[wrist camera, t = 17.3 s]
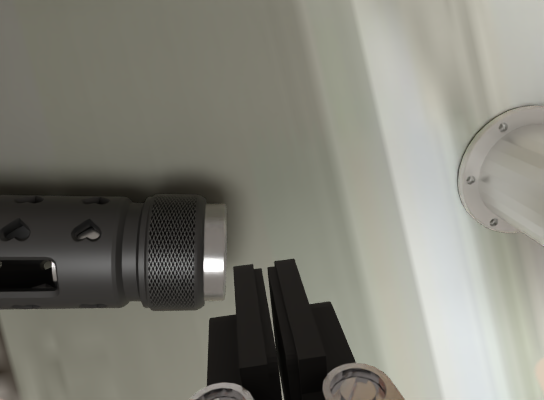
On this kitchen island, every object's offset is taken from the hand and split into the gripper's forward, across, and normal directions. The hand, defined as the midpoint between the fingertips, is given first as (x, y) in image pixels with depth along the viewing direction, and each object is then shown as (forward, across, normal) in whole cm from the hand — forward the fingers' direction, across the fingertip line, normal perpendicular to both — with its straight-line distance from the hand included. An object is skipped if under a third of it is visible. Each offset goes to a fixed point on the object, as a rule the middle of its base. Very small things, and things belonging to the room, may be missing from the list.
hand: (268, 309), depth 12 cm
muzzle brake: (+30, +16, +8) cm, 34 cm away
